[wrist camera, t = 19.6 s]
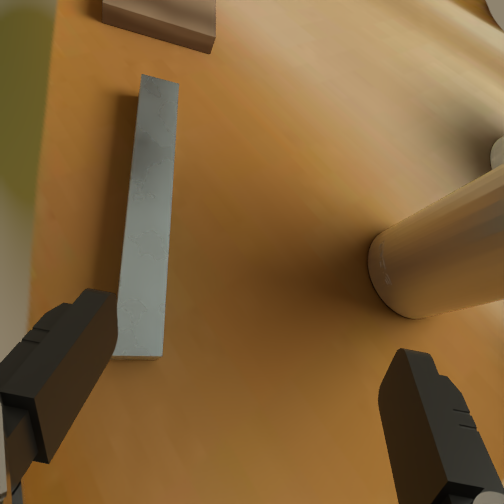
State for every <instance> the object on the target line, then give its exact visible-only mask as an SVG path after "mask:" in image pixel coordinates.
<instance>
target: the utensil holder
mask: <svg viewBox="0 0 504 504" xmlns="http://www.w3.org/2000/svg"><path fill="white" fill-rule="evenodd" d="M490 160H491V167H492V170H493V169H495V168H497V167H498V166H500V165H502V164H504V135H503V136H502V137H501V138H499V139H498V140H497V141H496V142H495V143H494V145H493V147H492V150H491V155H490Z"/></svg>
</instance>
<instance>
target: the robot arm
mask: <svg viewBox="0 0 504 504" xmlns="http://www.w3.org/2000/svg"><path fill="white" fill-rule="evenodd" d="M368 269H369V274H370V278H371V281H372V283H373V285H374V288H375V290H376V291H377V293H378V294H379V296H380V298H381V299H382V300H383V301H384V302H385V303H386V305H387V306H389V307H390V308H391V309H392V310H393V311H395V312H396V313H398V314H400V315H402V316H404V317H407V318H411V319H421V318H426V317H430V316H434V315H439V314H443V313H447V312H452V311H457V310H461V309H465V308H469V307H474V306H478V305H482V304H486V303H490V302H495V301H499V300H503V299H504V164H502V165H500V166H498V167H497V168H495V169H493V170H491V171H489V172H488V173H486V174H484V175H482V176H481V177H479V178H477V179H475V180H474V181H472V182H470V183H468V184H466V185H465V186H463V187H461V188H459V189H458V190H456V191H454V192H452V193H450V194H449V195H447V196H445V197H443V198H442V199H440V200H438V201H436V202H434V203H433V204H431V205H429V206H427V207H426V208H424V209H422V210H420V211H419V212H417V213H415V214H413V215H411V216H409V217H408V218H406V219H404V220H402V221H401V222H399V223H397V224H395V225H394V226H392V227H390V228H388V229H387V230H385V231H383V232H381V233H380V234H379V235H378V236H376V238H375V239H374V240H373V242H372V244H371V246H370V249H369V254H368ZM117 339H118V318H117V298H116V295H115V293H111V292H105V291H100V290H95V289H90V288H87V289H85V290H84V291H83V292H82V293H81V295H80V296H79V297H78V298H77V299H76V301H75V302H74V303H73V304H68V303H62V304H61V305H59V306H57V307H55V308H54V309H52V310H50V311H49V312H47V313H45V314H44V315H43V317H42V318H41V319H40V320H39V321H38V322H37V323H36V324H35V325H34V326H33V329H32V330H30V331H29V332H28V333H27V334H26V335H25V336H24V338H23V339H22V342H19V343H18V344H17V345H16V346H15V347H14V349H13V350H12V351H11V352H10V353H9V354H8V355H7V356H6V357H5V358H4V360H3V361H2V362H1V363H0V504H26V503H25V493H24V482H23V476H24V474H25V472H26V471H27V469H28V468H29V466H30V464H31V463H32V461H36V462H41V463H46V464H49V463H50V461H51V460H52V458H53V456H54V454H55V453H56V451H57V449H58V448H59V446H60V444H61V442H62V441H63V439H64V437H65V436H66V434H67V432H68V430H69V429H70V427H71V425H72V423H73V422H74V420H75V418H76V417H77V415H78V413H79V411H80V410H81V408H82V406H83V405H84V403H85V401H86V399H87V398H88V396H89V394H90V393H91V391H92V389H93V387H94V386H95V384H96V382H97V381H98V379H99V377H100V375H101V374H102V372H103V370H104V369H105V367H106V365H107V363H108V362H109V360H110V358H111V356H112V355H113V353H114V350H115V347H116V344H117ZM378 405H379V411H380V416H381V421H382V425H383V430H384V435H385V440H386V444H387V449H388V454H389V459H390V464H391V468H392V473H393V478H394V483H395V488H396V492H397V497H398V502H399V504H504V488H503V485H502V483H501V481H500V479H499V476H498V474H497V472H496V470H495V467H494V465H493V463H492V461H491V458H490V456H489V454H488V452H487V449H486V447H485V445H484V443H483V440H482V438H481V436H480V434H479V432H478V431H477V430H476V428H477V427H476V425H475V422H474V420H473V418H472V416H470V414H469V413H470V411H469V409H468V407H467V405H466V402H465V400H464V398H463V396H462V393H461V392H460V391H459V390H458V389H457V388H456V386H455V385H454V384H453V383H452V382H451V381H450V379H449V378H448V377H447V376H442V375H439V374H438V371H437V369H436V366H435V364H434V361H433V359H432V357H431V355H430V354H428V353H424V352H419V351H413V350H408V349H403V348H400V349H398V350H397V352H396V354H395V356H394V358H393V360H392V362H391V364H390V366H389V368H388V370H387V372H386V375H385V377H384V379H383V381H382V383H381V385H380V389H379V395H378Z"/></svg>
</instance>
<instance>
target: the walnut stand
mask: <svg viewBox="0 0 504 504" xmlns="http://www.w3.org/2000/svg"><path fill="white" fill-rule="evenodd" d="M102 23H105V24H109V25H112V26H116V27H119V28H122V29H126V30H129V31H133V32H136V33H139V34H143V35H146V36H150V37H153V38H157V39H160V40H163V41H167V42H170V43H174V44H177V45H181V46H184V47H187V48H191V49H194V50H198V51H201V52H205V53H208V54H210V53H211V50H212V47H213V44H214V41H215V38H216V0H103V3H102Z"/></svg>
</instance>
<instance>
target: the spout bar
mask: <svg viewBox="0 0 504 504" xmlns="http://www.w3.org/2000/svg"><path fill="white" fill-rule="evenodd" d="M178 91H179V84H178V83H174V82H170V81H166V80H163V79H159V78H155V77H151V76H147V75H144V74H142V76H141V83H140V89H139V96H138V105H137V115H136V124H135V133H134V143H133V152H132V161H131V171H130V180H129V189H128V199H127V208H126V217H125V227H124V236H123V245H122V254H121V264H120V273H119V282H118V292H117V318H118V339H117V344H116V347H115V350H114V353H113V355H112V356H111V358H110V359H120V360H157V359H159V358H160V357H162V352H163V336H164V319H165V303H166V287H167V270H168V254H169V238H170V221H171V205H172V189H173V172H174V156H175V140H176V123H177V107H178Z"/></svg>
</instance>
